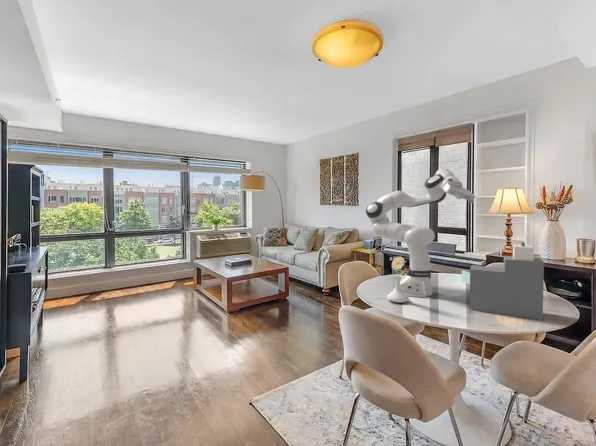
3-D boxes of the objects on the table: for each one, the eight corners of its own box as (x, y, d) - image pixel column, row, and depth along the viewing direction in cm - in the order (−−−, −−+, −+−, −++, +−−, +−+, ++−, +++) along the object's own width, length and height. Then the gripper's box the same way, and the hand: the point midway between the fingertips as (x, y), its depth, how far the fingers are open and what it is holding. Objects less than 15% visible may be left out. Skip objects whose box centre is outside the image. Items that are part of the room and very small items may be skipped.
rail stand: (470, 302, 156) (471, 253, 155) (538, 312, 141) (539, 258, 140) (469, 309, 146) (470, 257, 145) (542, 320, 131) (544, 262, 130)
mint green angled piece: (491, 285, 190) (491, 273, 190) (473, 285, 189) (473, 274, 189) (478, 280, 202) (478, 269, 202) (461, 281, 201) (461, 270, 201)
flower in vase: (383, 298, 166) (383, 254, 165) (402, 297, 167) (403, 253, 166) (393, 306, 153) (393, 258, 152) (414, 304, 154) (414, 257, 153)
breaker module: (511, 254, 152) (511, 239, 152) (528, 255, 149) (528, 240, 148) (514, 259, 136) (514, 243, 136) (533, 261, 133) (534, 244, 132)
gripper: (462, 194, 184) (475, 208, 174) (437, 186, 177) (448, 200, 167) (470, 186, 180) (483, 200, 170) (444, 177, 173) (456, 191, 163)
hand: (465, 200), depth 168 cm, fingers open, 8 cm apart
